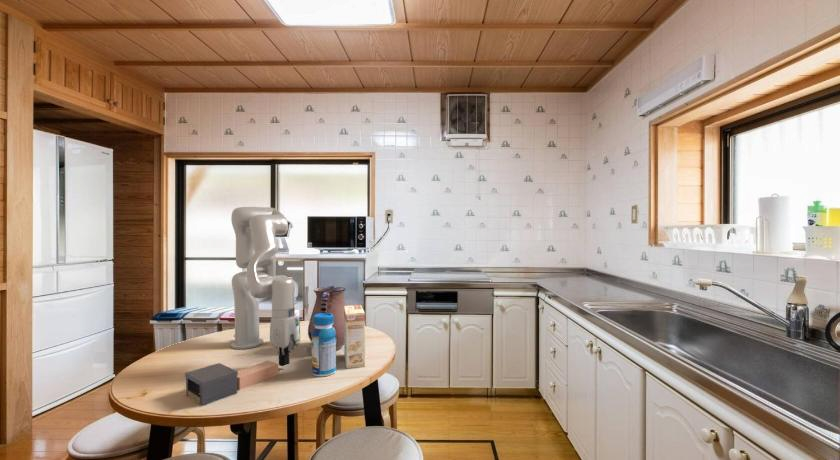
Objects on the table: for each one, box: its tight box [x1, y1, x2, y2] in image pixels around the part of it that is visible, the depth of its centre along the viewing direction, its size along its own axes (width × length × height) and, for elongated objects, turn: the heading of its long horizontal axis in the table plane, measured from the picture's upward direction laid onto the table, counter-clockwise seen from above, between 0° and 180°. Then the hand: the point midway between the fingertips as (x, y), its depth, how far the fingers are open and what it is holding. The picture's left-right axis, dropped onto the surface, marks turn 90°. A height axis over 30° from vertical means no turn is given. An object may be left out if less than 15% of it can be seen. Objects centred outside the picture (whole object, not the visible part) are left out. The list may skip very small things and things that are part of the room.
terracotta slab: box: [237, 360, 279, 391], centre depth 123 cm, size 6×14×4 cm, turn 147°
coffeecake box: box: [343, 304, 366, 369], centre depth 140 cm, size 15×7×20 cm, turn 14°
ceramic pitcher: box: [307, 285, 347, 351], centre depth 153 cm, size 18×21×25 cm
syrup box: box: [294, 308, 301, 345], centre depth 161 cm, size 6×6×14 cm
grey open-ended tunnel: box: [184, 362, 239, 407], centre depth 113 cm, size 12×10×7 cm
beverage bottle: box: [310, 313, 337, 377], centre depth 129 cm, size 8×8×20 cm
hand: (284, 364), depth 132 cm, fingers closed
